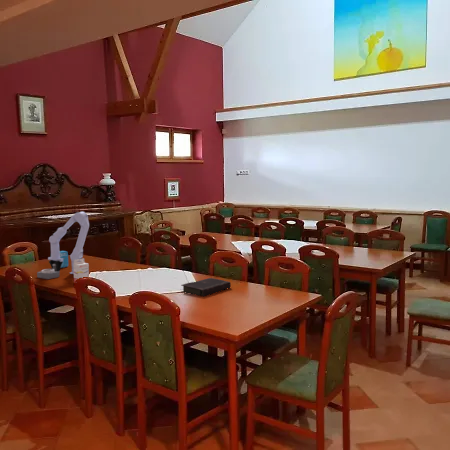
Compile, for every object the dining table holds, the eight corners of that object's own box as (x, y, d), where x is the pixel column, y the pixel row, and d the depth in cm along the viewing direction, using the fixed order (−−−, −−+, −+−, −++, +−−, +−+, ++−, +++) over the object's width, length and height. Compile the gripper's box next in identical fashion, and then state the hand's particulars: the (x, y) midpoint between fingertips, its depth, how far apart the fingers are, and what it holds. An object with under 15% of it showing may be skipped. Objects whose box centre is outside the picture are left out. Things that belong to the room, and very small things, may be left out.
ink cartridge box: (78, 283, 305) (77, 260, 303) (73, 282, 308) (72, 259, 306) (89, 280, 311) (88, 258, 310) (85, 279, 314) (84, 258, 313)
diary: (231, 289, 285) (231, 281, 284) (203, 298, 266) (203, 289, 265) (207, 284, 296) (207, 277, 296) (180, 292, 277) (179, 284, 277)
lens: (61, 273, 337) (60, 263, 336) (55, 274, 333) (55, 264, 333) (57, 272, 340) (56, 262, 339) (51, 273, 336) (51, 263, 335)
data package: (54, 268, 353) (53, 253, 352) (51, 268, 356) (50, 252, 355) (68, 266, 362) (67, 251, 361) (65, 265, 365) (64, 250, 364)
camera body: (59, 276, 324) (59, 269, 324) (48, 279, 317) (47, 272, 316) (48, 275, 331) (48, 268, 331) (37, 277, 324) (36, 270, 323)
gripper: (44, 251, 335) (45, 270, 337) (57, 253, 328) (57, 272, 329) (52, 250, 341) (53, 268, 343) (65, 252, 333) (66, 270, 335)
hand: (56, 270), depth 336 cm, fingers closed on lens, 4 cm apart
